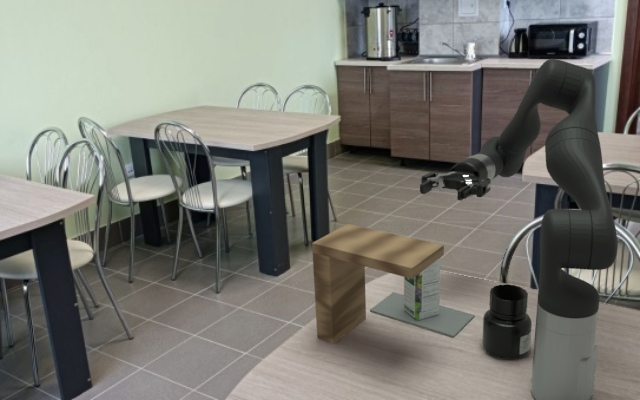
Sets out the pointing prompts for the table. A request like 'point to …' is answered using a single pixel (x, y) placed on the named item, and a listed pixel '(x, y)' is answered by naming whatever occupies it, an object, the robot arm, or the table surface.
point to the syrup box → (423, 292)
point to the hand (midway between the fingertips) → (440, 192)
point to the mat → (442, 323)
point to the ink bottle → (507, 323)
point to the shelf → (359, 272)
